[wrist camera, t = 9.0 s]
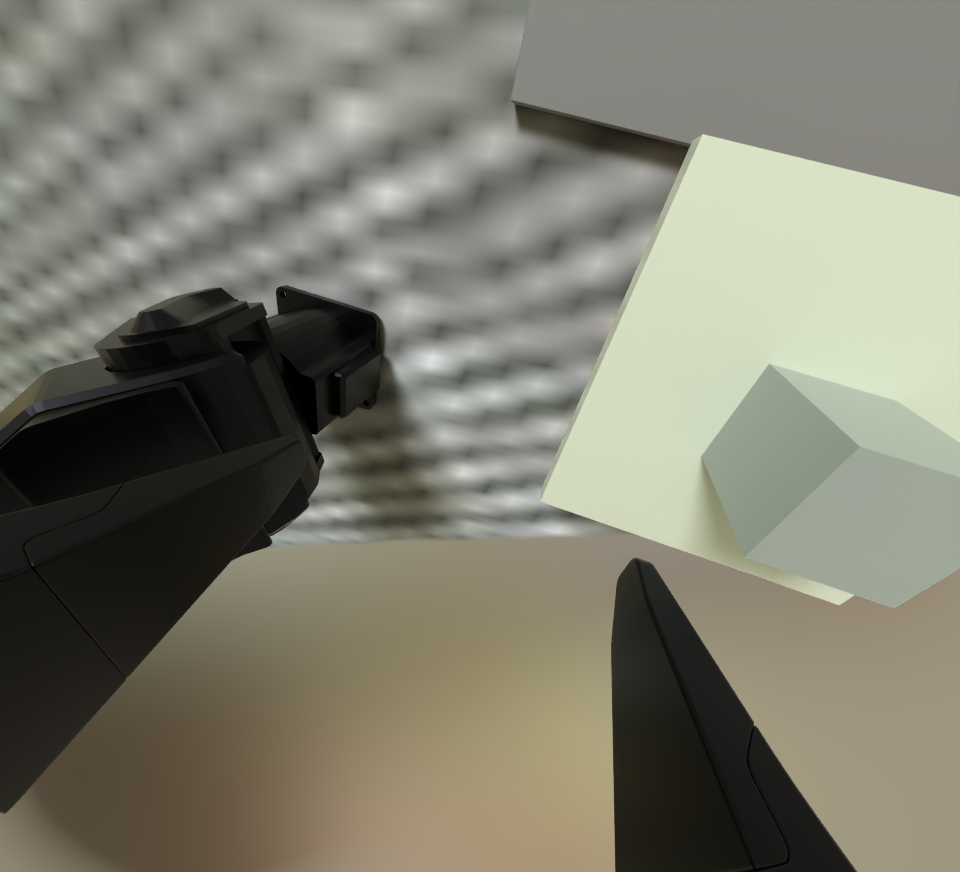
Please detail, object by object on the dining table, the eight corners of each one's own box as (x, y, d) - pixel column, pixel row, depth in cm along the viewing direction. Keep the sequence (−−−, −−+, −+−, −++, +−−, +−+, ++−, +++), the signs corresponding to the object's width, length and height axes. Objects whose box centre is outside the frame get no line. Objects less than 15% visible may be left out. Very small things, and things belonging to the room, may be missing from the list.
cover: (542, 485, 19) (524, 591, 14) (692, 140, 11) (784, 83, 6) (825, 582, 17) (920, 738, 12) (1239, 274, 9) (2008, 360, 4)
